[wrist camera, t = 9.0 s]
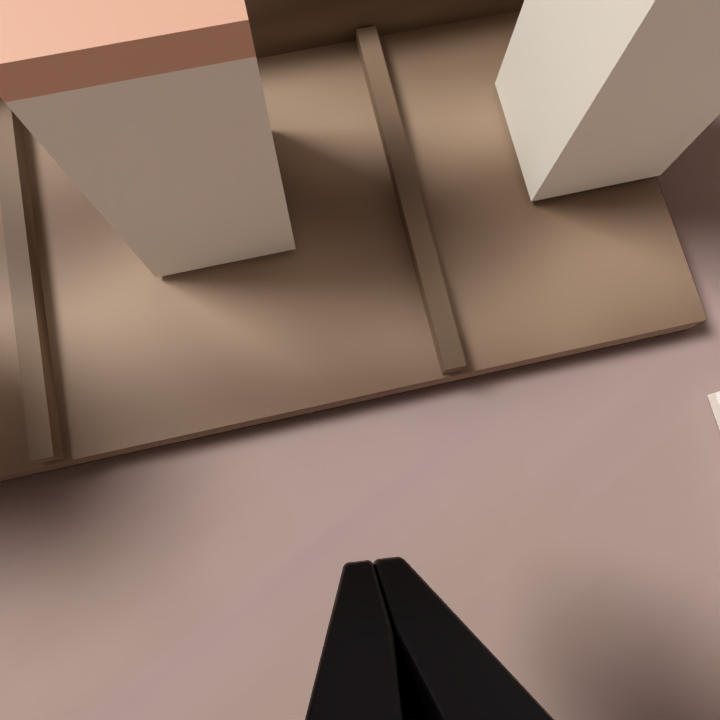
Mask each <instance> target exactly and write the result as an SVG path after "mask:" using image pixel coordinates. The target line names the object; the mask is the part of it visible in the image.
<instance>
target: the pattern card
mask: <svg viewBox="0 0 720 720" xmlns="http://www.w3.org/2000/svg"><path fill="white" fill-rule="evenodd" d="M707 396H708V399H709V401H710V404H711V407H712V410H713V413H714V416H715V419H716V422H717V424H718V427H719V430H720V392H715V393H712V394H708V395H707Z"/></svg>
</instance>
